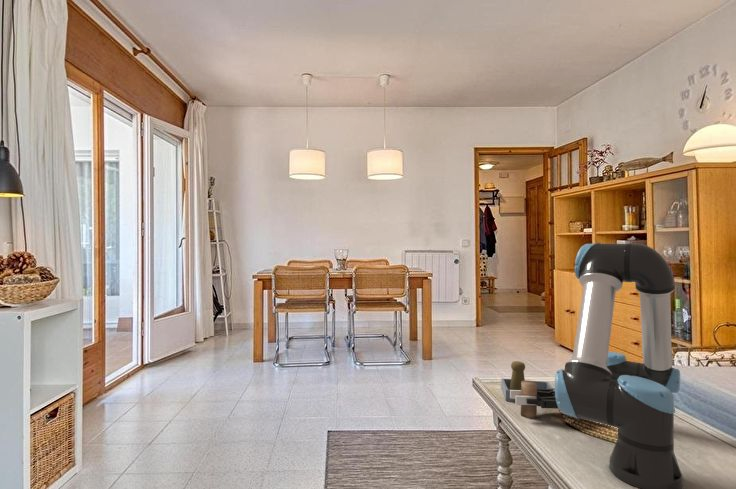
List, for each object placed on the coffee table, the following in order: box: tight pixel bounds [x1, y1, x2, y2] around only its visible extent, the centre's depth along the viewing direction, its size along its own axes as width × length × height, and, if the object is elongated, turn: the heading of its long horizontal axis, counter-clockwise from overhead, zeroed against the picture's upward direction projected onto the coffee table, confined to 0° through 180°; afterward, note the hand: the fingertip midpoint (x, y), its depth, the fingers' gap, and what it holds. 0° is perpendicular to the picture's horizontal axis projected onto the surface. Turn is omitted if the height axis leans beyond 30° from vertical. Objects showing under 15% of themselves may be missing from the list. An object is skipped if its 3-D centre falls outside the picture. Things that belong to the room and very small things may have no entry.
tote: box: [500, 377, 554, 403], centre depth 161 cm, size 15×18×4 cm
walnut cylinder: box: [520, 380, 538, 419], centre depth 142 cm, size 5×5×11 cm
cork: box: [510, 360, 526, 390], centre depth 165 cm, size 6×6×11 cm
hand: (513, 397), depth 142 cm, fingers closed on walnut cylinder, 5 cm apart
